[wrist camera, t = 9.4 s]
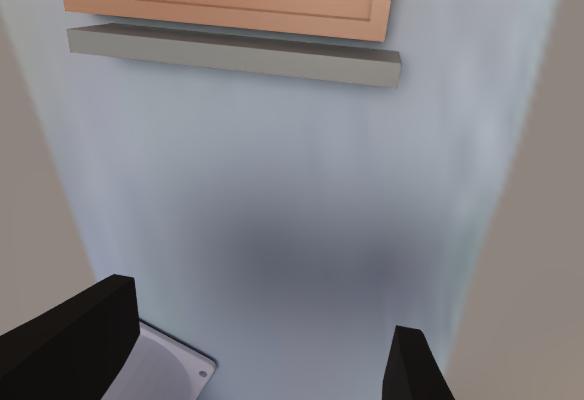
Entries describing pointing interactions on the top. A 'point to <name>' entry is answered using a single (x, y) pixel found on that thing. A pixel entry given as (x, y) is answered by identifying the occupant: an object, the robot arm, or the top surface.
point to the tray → (257, 14)
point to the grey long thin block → (239, 53)
